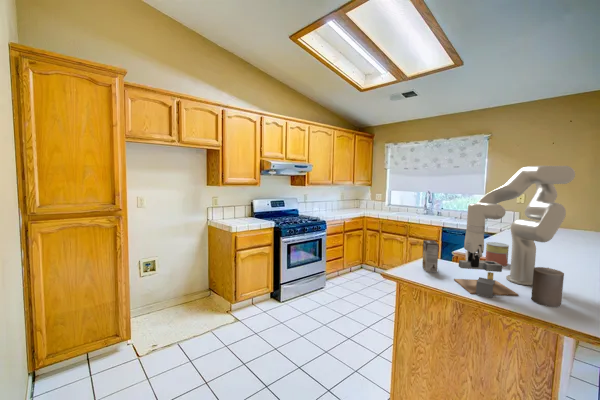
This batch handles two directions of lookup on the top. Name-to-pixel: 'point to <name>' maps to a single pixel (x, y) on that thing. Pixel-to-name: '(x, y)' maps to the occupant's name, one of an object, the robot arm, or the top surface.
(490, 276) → the pintle
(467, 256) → the white cup
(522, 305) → the top surface
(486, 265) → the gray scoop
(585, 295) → the top surface
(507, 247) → the canned food
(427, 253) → the coffee box
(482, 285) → the block
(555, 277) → the pillar candle
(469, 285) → the board
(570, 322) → the top surface
